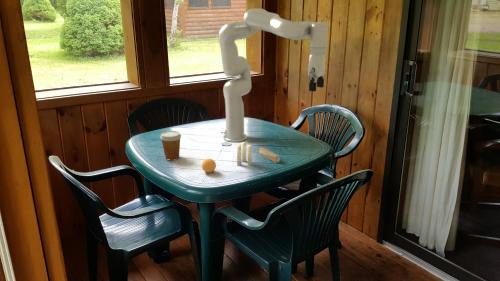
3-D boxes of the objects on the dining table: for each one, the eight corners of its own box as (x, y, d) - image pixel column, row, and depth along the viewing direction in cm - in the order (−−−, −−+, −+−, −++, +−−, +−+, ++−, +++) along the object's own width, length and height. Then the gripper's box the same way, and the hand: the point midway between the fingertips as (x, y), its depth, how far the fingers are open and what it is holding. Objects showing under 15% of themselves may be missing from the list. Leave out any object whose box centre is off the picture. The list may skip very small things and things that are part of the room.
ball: (199, 173, 174) (198, 160, 172) (207, 168, 179) (206, 155, 177) (211, 175, 171) (210, 162, 169) (218, 170, 176) (218, 158, 174)
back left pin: (241, 161, 186) (240, 143, 183) (243, 160, 187) (243, 141, 184) (245, 162, 185) (244, 143, 182) (247, 160, 186) (246, 142, 184)
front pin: (236, 165, 182) (235, 146, 179) (238, 163, 183) (238, 144, 180) (240, 166, 181) (239, 147, 178) (242, 164, 182) (242, 145, 180)
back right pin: (246, 165, 182) (246, 146, 179) (249, 163, 183) (248, 144, 180) (250, 165, 181) (250, 146, 178) (252, 164, 182) (252, 145, 179)
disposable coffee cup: (163, 154, 195) (161, 131, 191) (183, 153, 196) (181, 130, 192) (160, 162, 186) (158, 137, 183) (181, 161, 187) (180, 136, 183)
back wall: (275, 162, 184) (275, 156, 183) (259, 153, 195) (259, 147, 194) (279, 162, 185) (279, 155, 184) (262, 152, 196) (262, 147, 195)
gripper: (316, 48, 189) (315, 85, 195) (302, 52, 175) (301, 91, 181) (332, 49, 186) (330, 86, 191) (319, 53, 172) (317, 93, 177)
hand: (316, 89), depth 186 cm, fingers open, 9 cm apart
